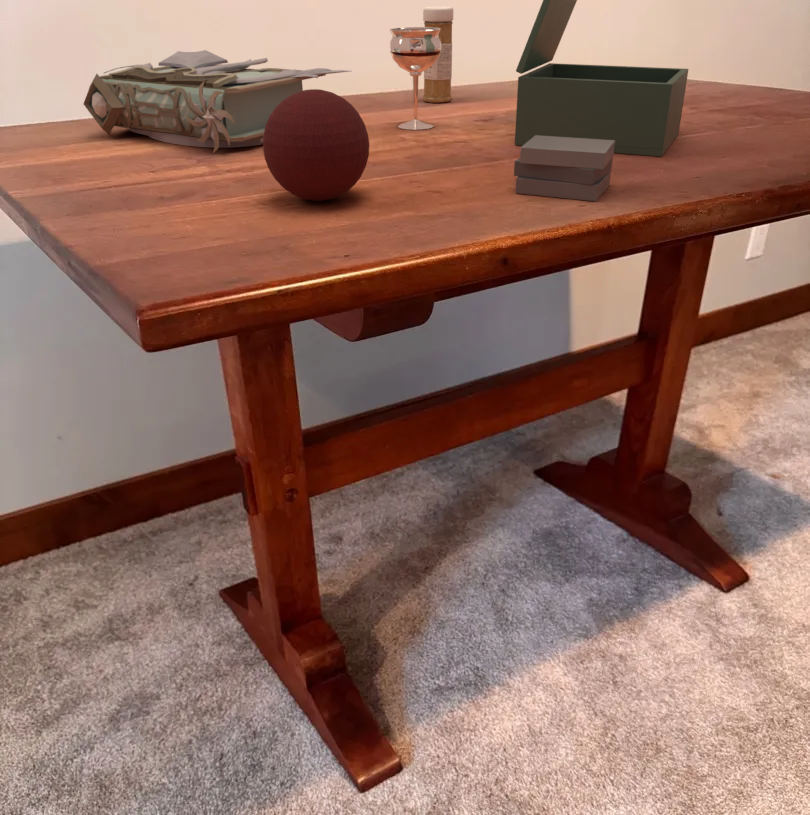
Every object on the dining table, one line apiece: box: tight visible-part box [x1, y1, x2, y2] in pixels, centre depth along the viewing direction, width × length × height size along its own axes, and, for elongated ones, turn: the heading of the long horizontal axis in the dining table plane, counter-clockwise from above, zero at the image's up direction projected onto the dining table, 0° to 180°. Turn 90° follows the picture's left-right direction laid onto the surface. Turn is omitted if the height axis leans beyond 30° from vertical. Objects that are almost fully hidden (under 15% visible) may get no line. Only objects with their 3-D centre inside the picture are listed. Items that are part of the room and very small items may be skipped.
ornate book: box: [83, 49, 351, 154], centre depth 105 cm, size 23×10×30 cm
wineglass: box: [389, 26, 441, 131], centre depth 106 cm, size 7×7×12 cm
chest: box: [514, 62, 689, 157], centre depth 98 cm, size 18×14×8 cm
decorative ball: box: [262, 88, 370, 202], centre depth 75 cm, size 10×10×10 cm
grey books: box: [513, 135, 615, 202], centre depth 79 cm, size 9×7×4 cm
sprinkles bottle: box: [422, 5, 454, 104], centre depth 123 cm, size 5×5×14 cm
